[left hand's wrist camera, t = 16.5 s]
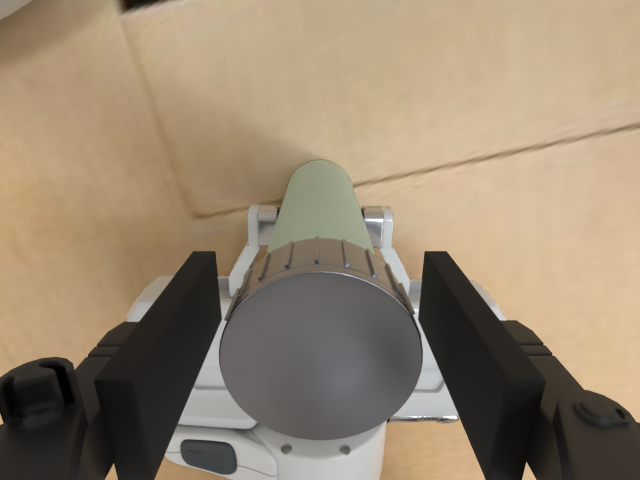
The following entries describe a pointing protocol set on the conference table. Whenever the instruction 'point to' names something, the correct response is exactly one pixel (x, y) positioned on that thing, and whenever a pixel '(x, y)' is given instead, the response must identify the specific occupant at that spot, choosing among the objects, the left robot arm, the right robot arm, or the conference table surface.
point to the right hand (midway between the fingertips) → (319, 207)
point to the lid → (320, 341)
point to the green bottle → (320, 208)
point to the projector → (11, 6)
